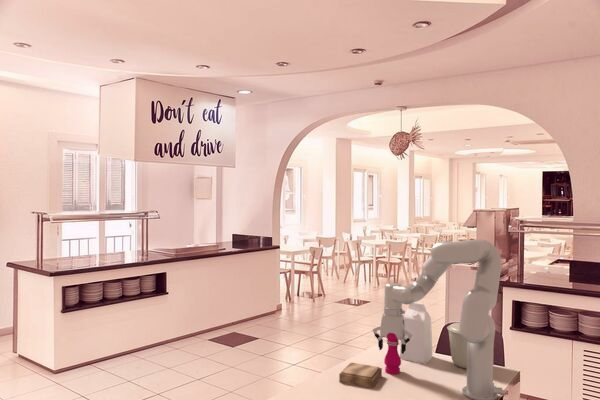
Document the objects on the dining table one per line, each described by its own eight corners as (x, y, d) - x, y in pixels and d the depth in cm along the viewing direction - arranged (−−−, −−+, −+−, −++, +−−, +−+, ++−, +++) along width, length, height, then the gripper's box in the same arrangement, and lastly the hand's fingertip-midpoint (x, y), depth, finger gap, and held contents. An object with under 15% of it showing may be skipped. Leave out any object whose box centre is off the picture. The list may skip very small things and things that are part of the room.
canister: (484, 375, 200) (485, 326, 200) (442, 367, 209) (442, 320, 209) (492, 363, 215) (492, 317, 215) (452, 355, 225) (452, 312, 224)
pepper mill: (401, 375, 199) (401, 328, 199) (383, 374, 200) (384, 327, 200) (400, 369, 206) (401, 324, 206) (384, 368, 207) (384, 323, 207)
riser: (381, 376, 198) (381, 366, 198) (372, 388, 185) (372, 378, 185) (350, 370, 204) (350, 361, 204) (339, 382, 191) (339, 372, 191)
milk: (432, 356, 223) (433, 302, 223) (425, 363, 214) (425, 307, 213) (408, 352, 230) (408, 299, 230) (399, 358, 220) (400, 303, 220)
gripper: (414, 312, 203) (413, 351, 203) (375, 307, 210) (374, 345, 210) (411, 316, 196) (410, 356, 196) (371, 311, 203) (370, 350, 204)
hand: (391, 350), depth 203 cm, fingers open, 9 cm apart
